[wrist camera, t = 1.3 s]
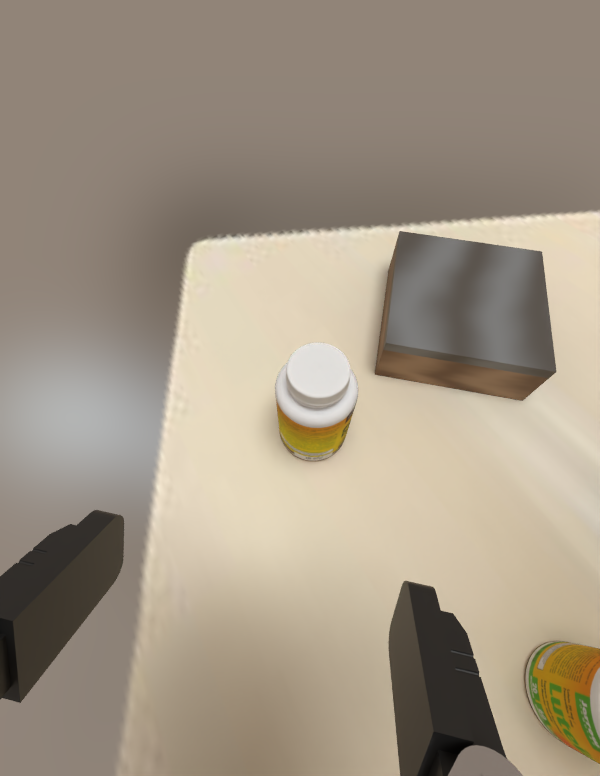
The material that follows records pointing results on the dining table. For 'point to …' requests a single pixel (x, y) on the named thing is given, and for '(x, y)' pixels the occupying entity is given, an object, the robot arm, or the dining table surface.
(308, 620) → the dining table surface
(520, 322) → the block
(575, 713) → the supplement bottle
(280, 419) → the supplement bottle
